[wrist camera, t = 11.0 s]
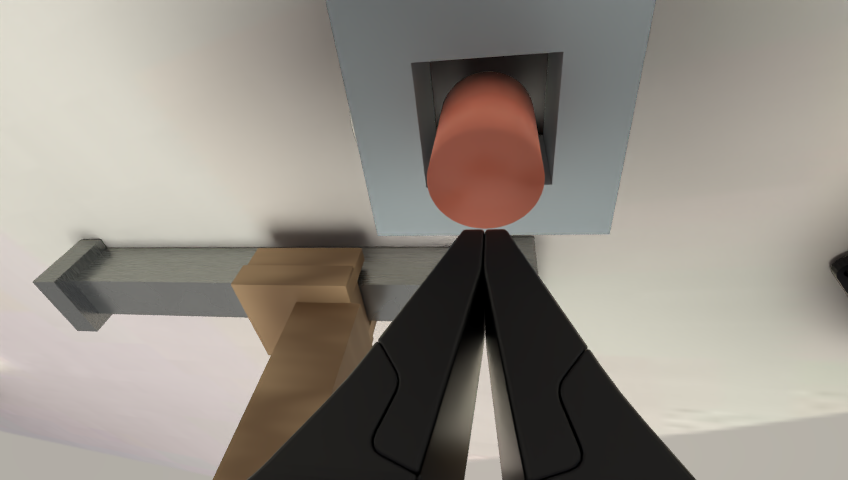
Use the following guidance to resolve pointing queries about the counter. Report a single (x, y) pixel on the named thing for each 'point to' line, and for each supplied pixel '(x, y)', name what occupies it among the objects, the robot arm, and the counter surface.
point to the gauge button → (486, 153)
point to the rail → (210, 280)
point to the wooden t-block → (296, 343)
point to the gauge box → (491, 37)
